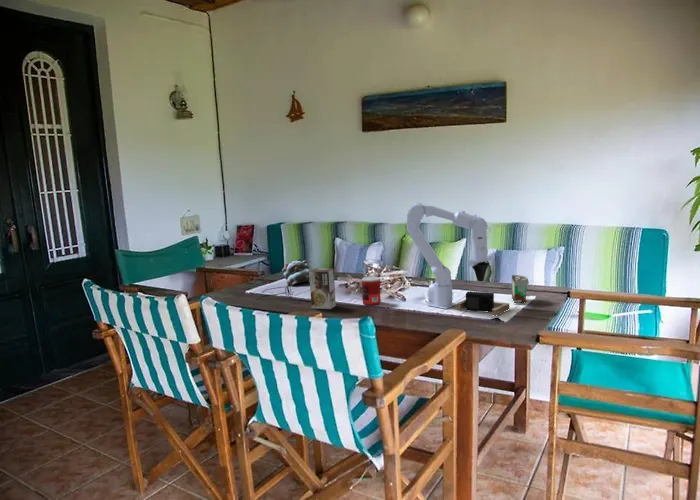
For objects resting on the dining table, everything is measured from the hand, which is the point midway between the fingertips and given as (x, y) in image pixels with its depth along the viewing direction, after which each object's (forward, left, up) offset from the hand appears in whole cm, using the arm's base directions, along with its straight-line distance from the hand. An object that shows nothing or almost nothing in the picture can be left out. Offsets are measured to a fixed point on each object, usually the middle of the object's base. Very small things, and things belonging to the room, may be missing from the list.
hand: (480, 280), depth 213 cm
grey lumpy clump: (-97, -14, -11) cm, 99 cm away
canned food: (-39, -22, -11) cm, 46 cm away
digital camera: (+3, -6, -11) cm, 13 cm away
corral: (+4, -5, -10) cm, 12 cm away
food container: (+10, +16, -11) cm, 21 cm away
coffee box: (-52, -38, -11) cm, 66 cm away
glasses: (-87, -37, -11) cm, 96 cm away
